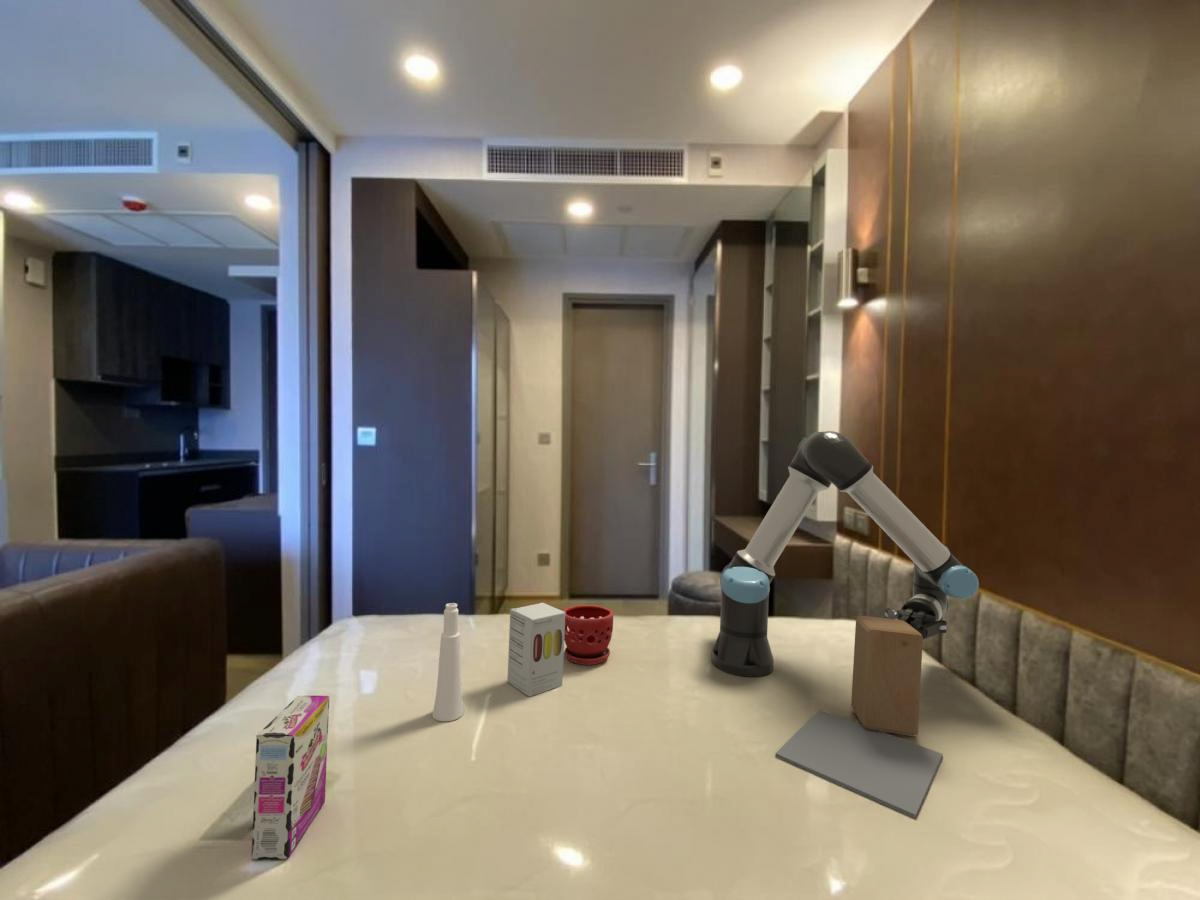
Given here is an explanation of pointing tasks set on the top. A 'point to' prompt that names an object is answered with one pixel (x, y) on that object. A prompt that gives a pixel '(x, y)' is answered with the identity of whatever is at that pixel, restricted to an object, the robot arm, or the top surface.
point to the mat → (864, 761)
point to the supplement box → (536, 648)
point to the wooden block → (887, 675)
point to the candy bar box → (289, 777)
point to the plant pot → (588, 634)
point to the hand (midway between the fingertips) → (898, 637)
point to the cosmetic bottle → (449, 670)
